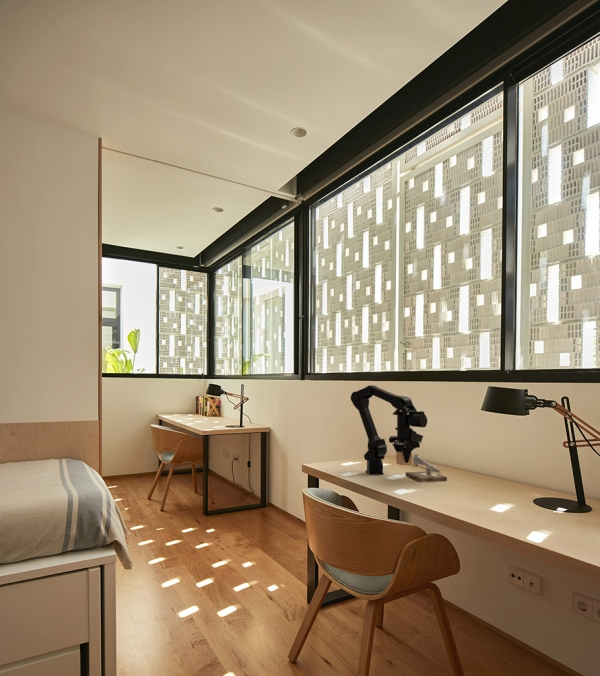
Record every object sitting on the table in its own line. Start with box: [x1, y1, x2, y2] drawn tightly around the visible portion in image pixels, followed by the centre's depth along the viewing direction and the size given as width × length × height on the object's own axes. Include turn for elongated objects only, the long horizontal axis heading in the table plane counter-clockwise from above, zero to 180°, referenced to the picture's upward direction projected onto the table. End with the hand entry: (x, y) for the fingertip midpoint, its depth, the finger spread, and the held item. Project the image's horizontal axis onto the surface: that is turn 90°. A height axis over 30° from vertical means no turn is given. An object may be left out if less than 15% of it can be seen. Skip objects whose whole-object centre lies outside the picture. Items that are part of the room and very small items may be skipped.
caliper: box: [412, 453, 442, 473], centre depth 225 cm, size 20×1×6 cm, turn 24°
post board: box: [405, 464, 448, 483], centre depth 203 cm, size 13×13×6 cm
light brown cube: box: [395, 451, 413, 466], centre depth 201 cm, size 5×5×5 cm
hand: (404, 461), depth 201 cm, fingers closed on light brown cube, 5 cm apart
